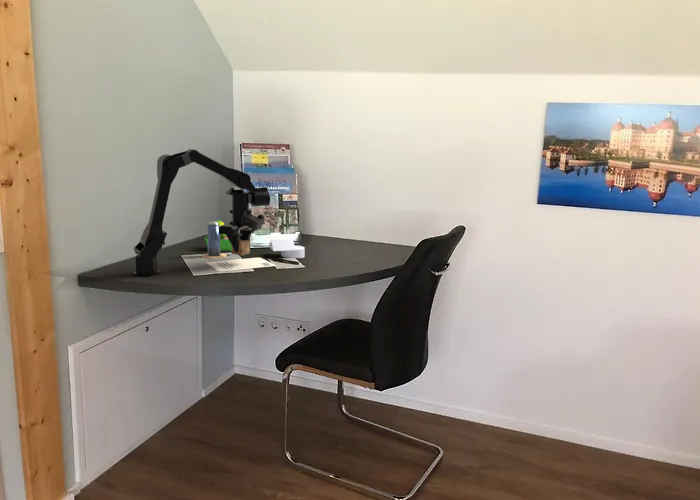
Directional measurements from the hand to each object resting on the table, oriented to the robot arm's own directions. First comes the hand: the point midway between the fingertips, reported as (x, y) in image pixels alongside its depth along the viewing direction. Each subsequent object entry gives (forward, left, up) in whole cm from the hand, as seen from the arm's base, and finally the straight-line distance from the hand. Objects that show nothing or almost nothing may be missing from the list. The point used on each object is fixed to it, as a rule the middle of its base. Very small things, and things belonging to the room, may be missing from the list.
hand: (240, 250), depth 223 cm
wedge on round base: (+21, -7, -6) cm, 23 cm away
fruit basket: (+18, +22, -6) cm, 29 cm away
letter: (0, 0, -5) cm, 5 cm away
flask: (+6, +16, -5) cm, 18 cm away
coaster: (+6, +16, -5) cm, 18 cm away
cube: (0, 0, -1) cm, 1 cm away
